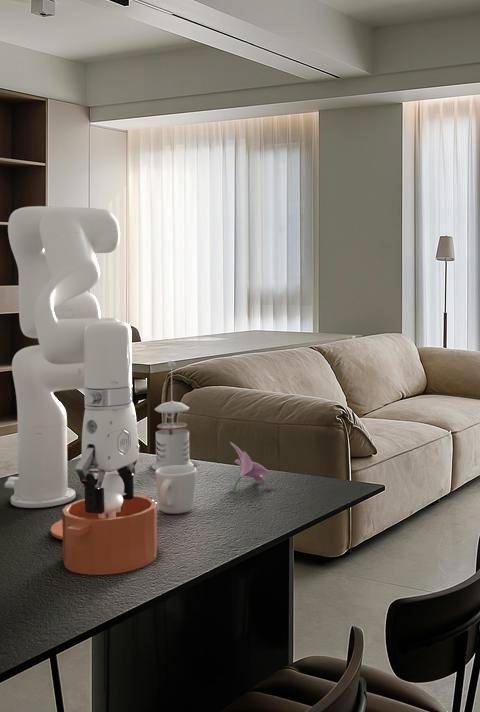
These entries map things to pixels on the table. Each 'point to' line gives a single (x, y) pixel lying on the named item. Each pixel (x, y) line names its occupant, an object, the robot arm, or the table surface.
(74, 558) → the pot
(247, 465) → the lily
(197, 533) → the table surface
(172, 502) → the cup
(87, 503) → the robot arm
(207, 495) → the table surface
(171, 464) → the white hanging lantern
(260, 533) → the table surface
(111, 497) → the toy creature
